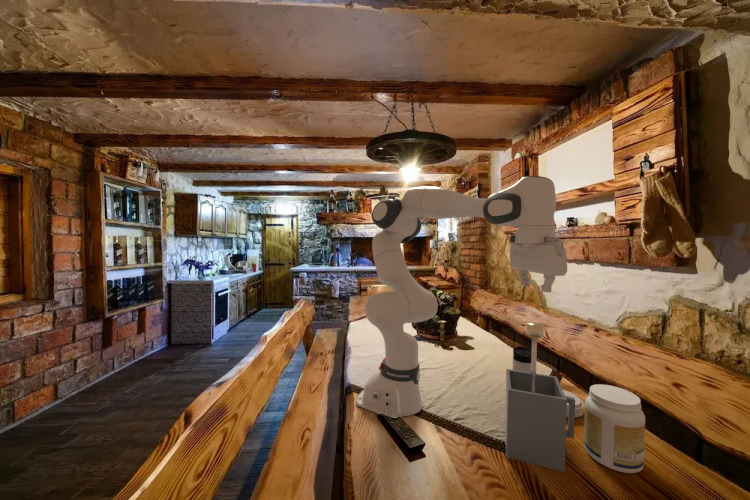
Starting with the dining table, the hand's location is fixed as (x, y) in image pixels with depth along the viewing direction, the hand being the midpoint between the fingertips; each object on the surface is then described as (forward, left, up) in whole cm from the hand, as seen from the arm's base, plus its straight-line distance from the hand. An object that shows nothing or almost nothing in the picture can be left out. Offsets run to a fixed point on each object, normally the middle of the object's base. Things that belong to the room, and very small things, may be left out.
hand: (535, 288), depth 80 cm
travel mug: (-1, +19, -44) cm, 48 cm away
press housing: (+1, -1, -43) cm, 43 cm away
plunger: (0, -1, -32) cm, 32 cm away
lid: (+11, +24, -44) cm, 51 cm away
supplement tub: (+19, +3, -44) cm, 48 cm away
